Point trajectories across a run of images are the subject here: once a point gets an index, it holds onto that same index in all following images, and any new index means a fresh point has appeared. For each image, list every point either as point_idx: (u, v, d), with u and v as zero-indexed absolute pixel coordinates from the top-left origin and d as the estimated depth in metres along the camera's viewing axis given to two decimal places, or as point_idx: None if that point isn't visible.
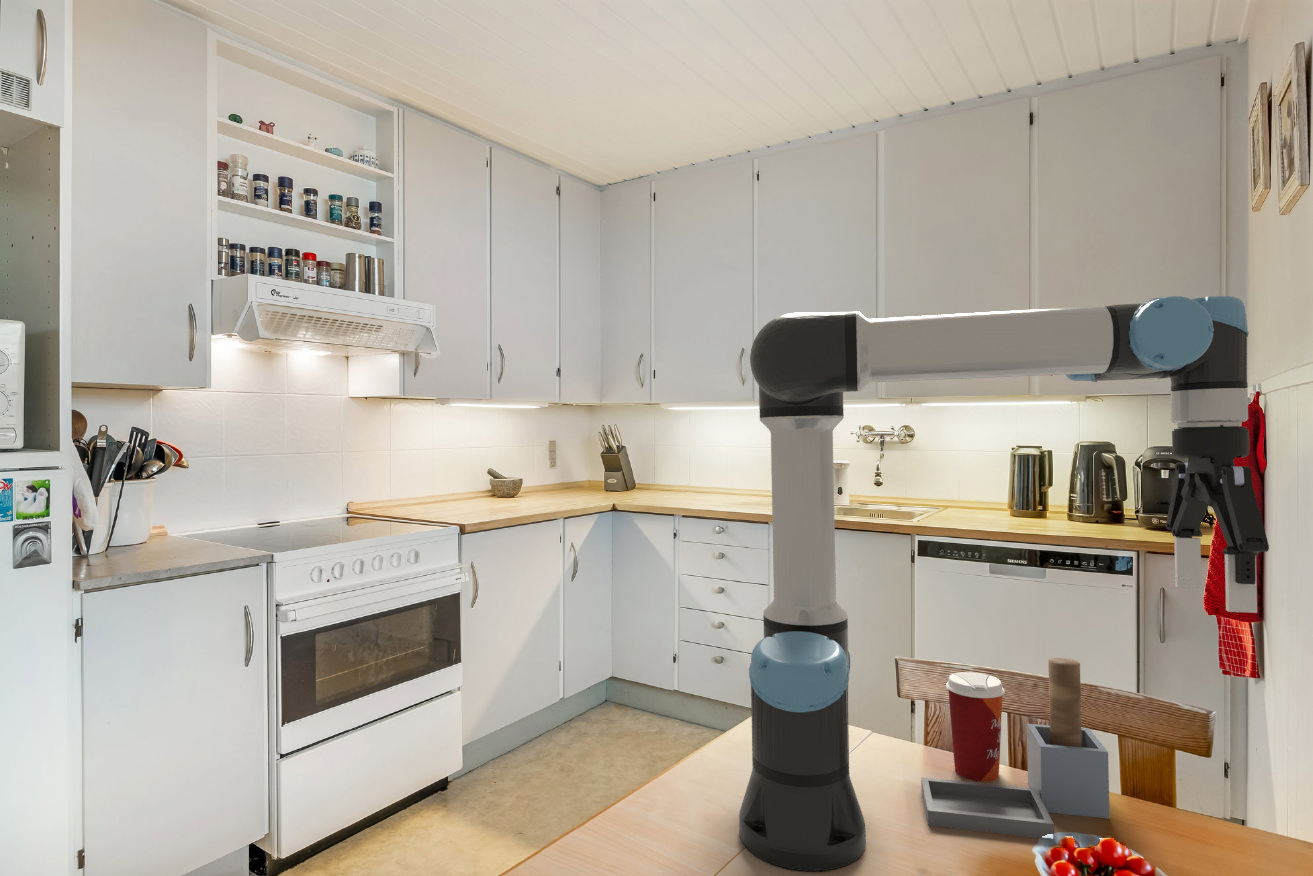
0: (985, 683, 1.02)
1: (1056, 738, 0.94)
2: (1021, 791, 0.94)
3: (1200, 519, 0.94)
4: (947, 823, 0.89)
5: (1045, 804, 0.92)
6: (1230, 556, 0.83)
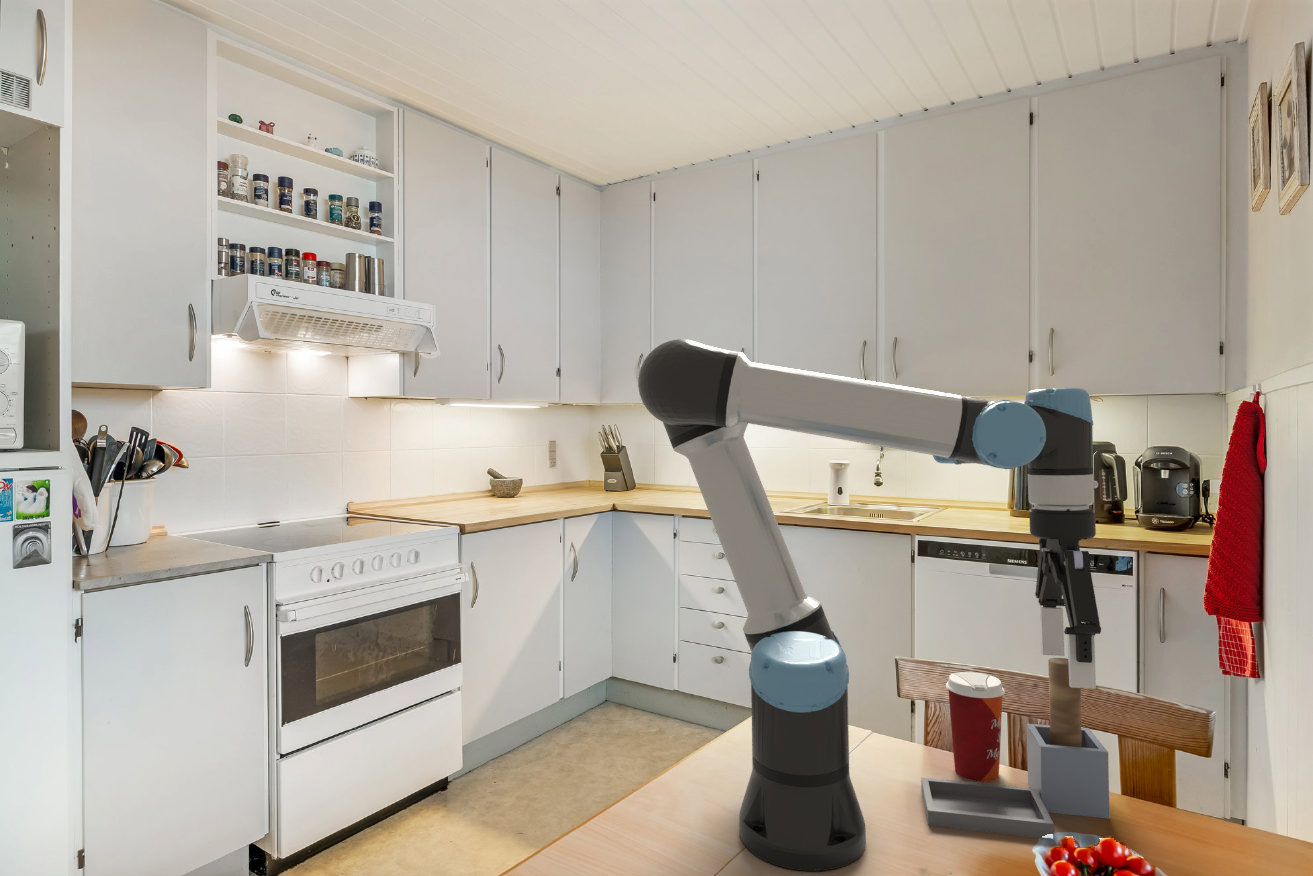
0: (985, 683, 1.02)
1: (1055, 737, 0.94)
2: (1021, 791, 0.94)
3: (1061, 591, 1.00)
4: (947, 823, 0.89)
5: (1045, 804, 0.92)
6: (1071, 635, 0.88)
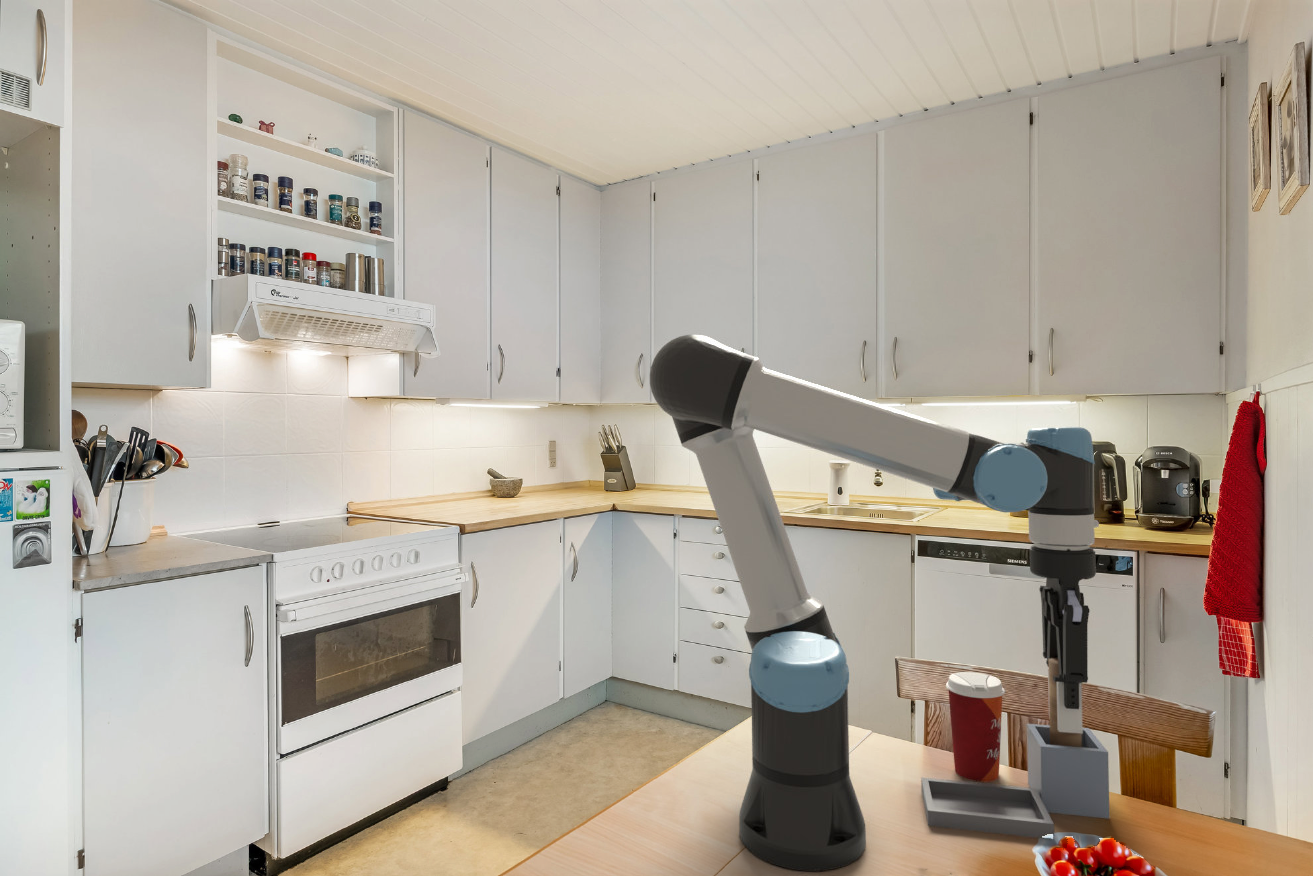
0: (985, 683, 1.02)
1: (1055, 737, 0.94)
2: (1021, 791, 0.94)
3: None
4: (947, 823, 0.89)
5: (1045, 804, 0.92)
6: (1060, 682, 0.93)
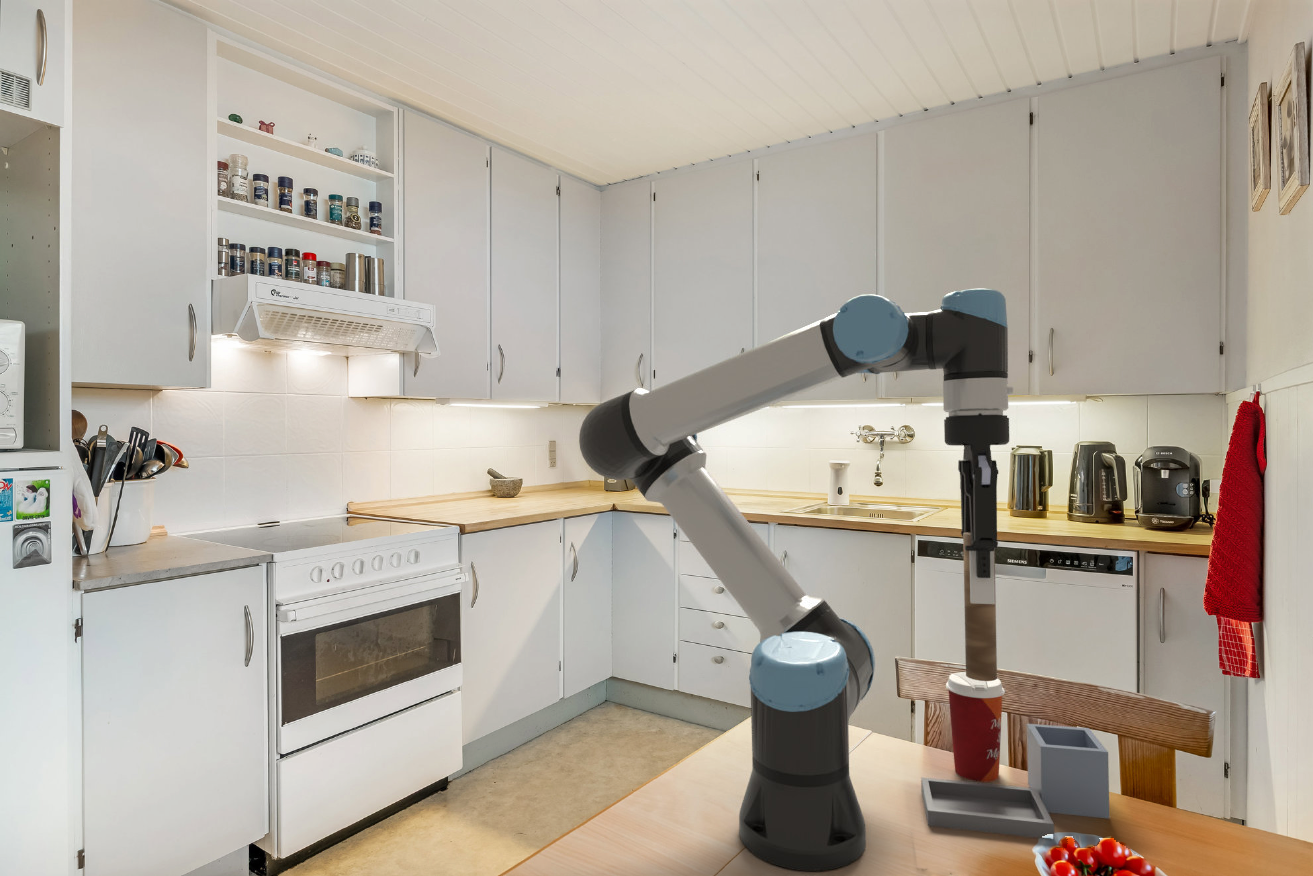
0: (985, 683, 1.02)
1: (969, 611, 0.91)
2: (1021, 791, 0.94)
3: None
4: (947, 823, 0.89)
5: (1045, 804, 0.92)
6: (972, 552, 0.90)
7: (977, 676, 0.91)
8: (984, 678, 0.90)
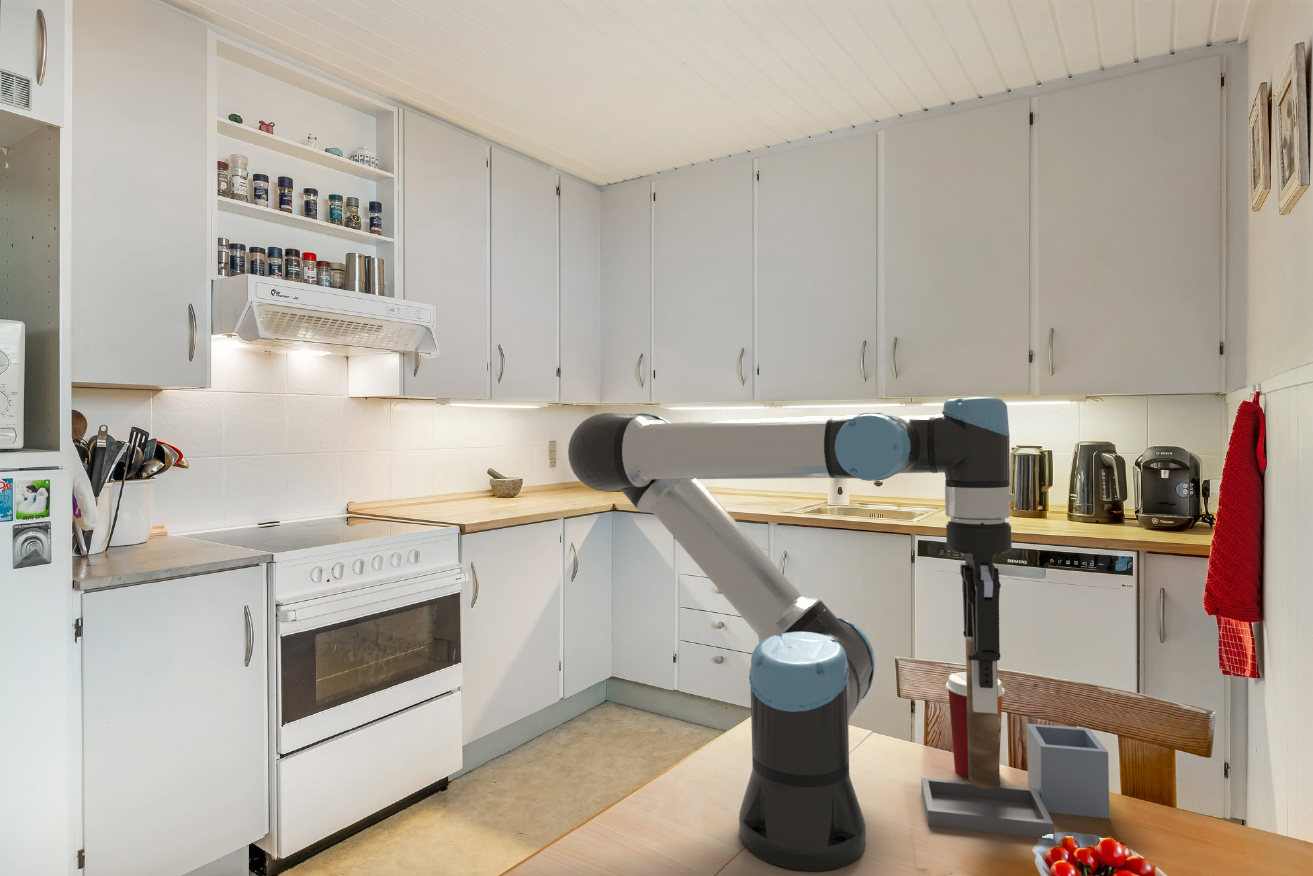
0: None
1: (972, 718, 0.91)
2: (1021, 791, 0.94)
3: None
4: (947, 823, 0.89)
5: (1045, 804, 0.92)
6: (974, 661, 0.90)
7: (980, 784, 0.91)
8: (987, 786, 0.90)
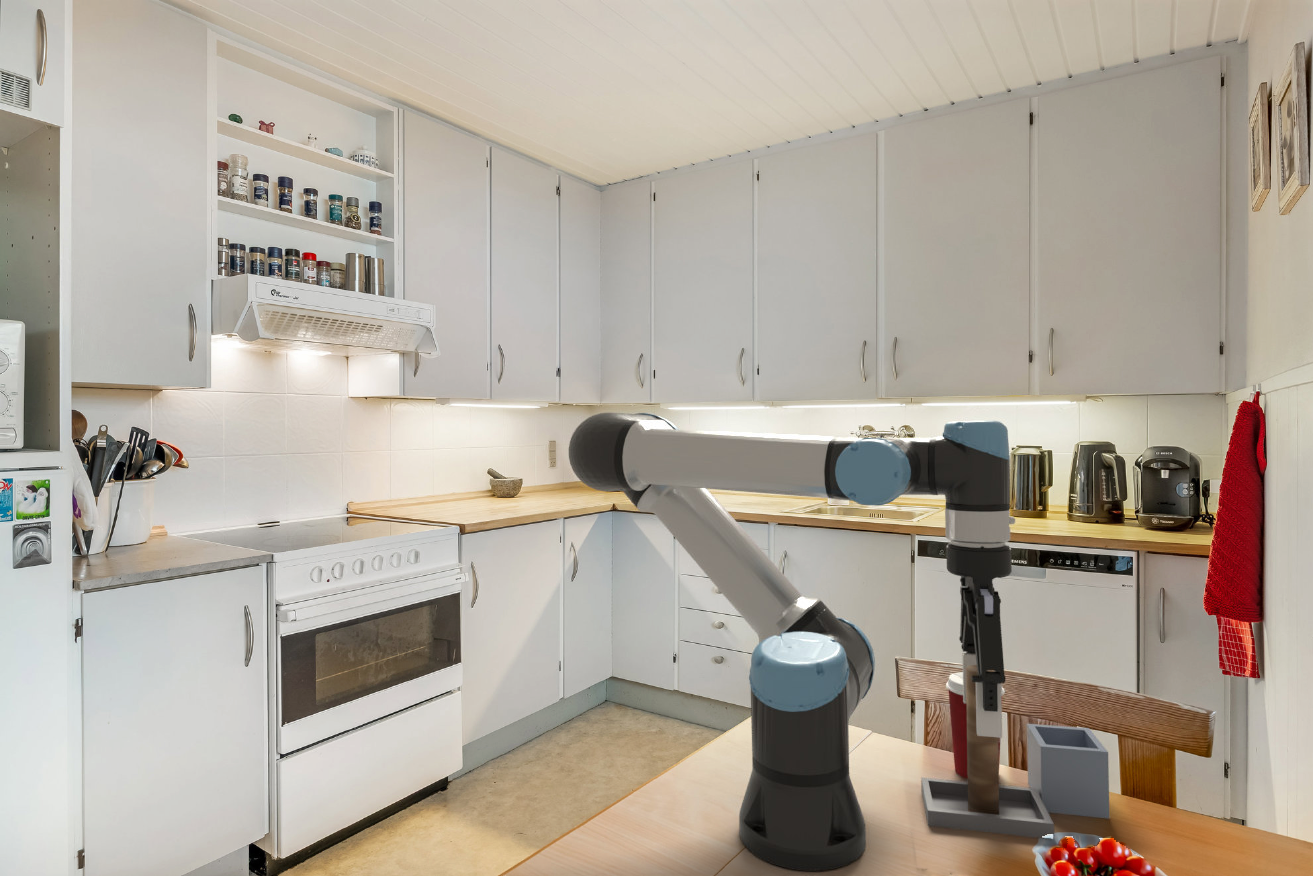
0: None
1: (972, 748, 0.91)
2: (1021, 791, 0.94)
3: None
4: (947, 823, 0.89)
5: (1045, 804, 0.92)
6: (978, 683, 0.87)
7: None
8: None
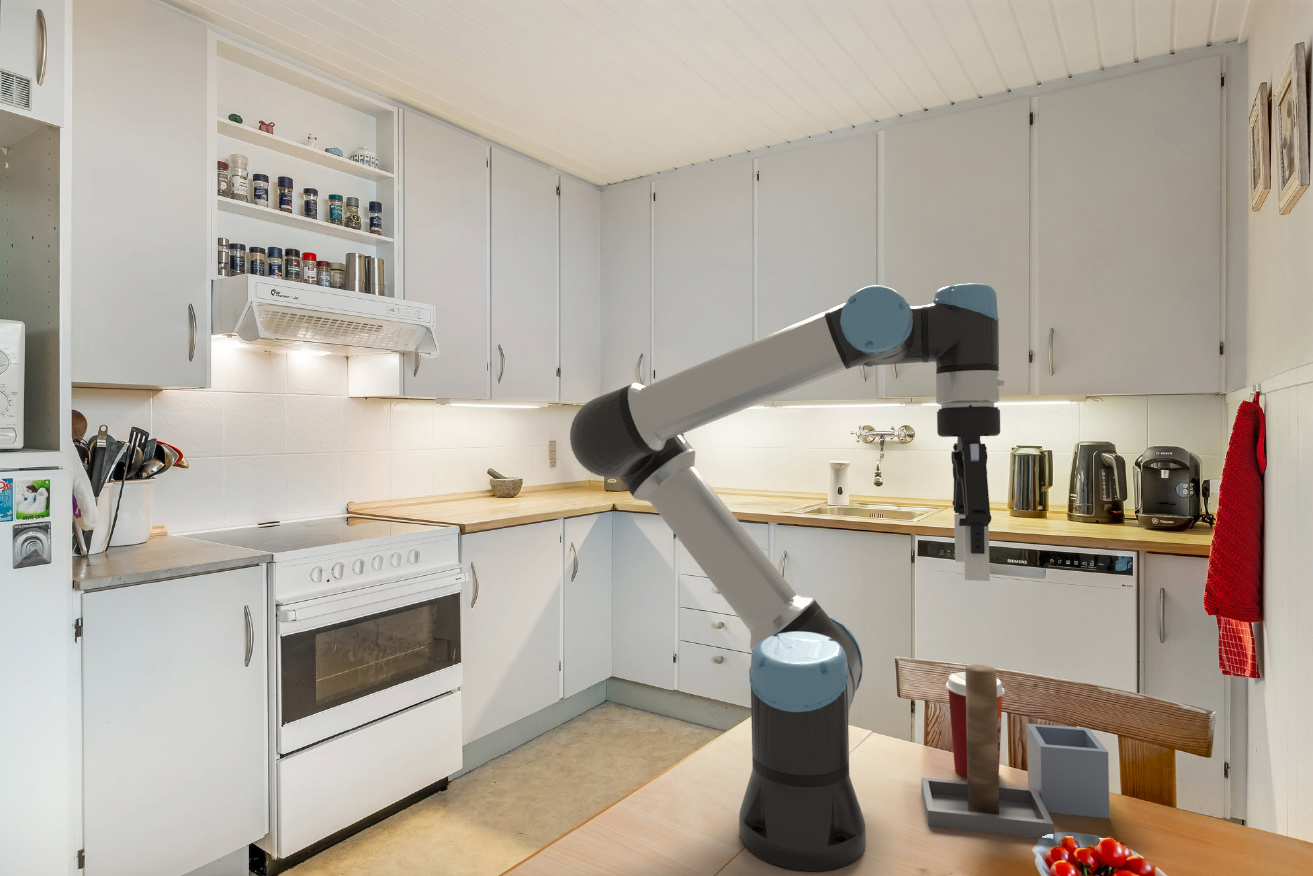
0: None
1: (971, 747, 0.91)
2: (1021, 791, 0.94)
3: None
4: (947, 823, 0.89)
5: (1045, 804, 0.92)
6: (966, 528, 0.88)
7: None
8: None
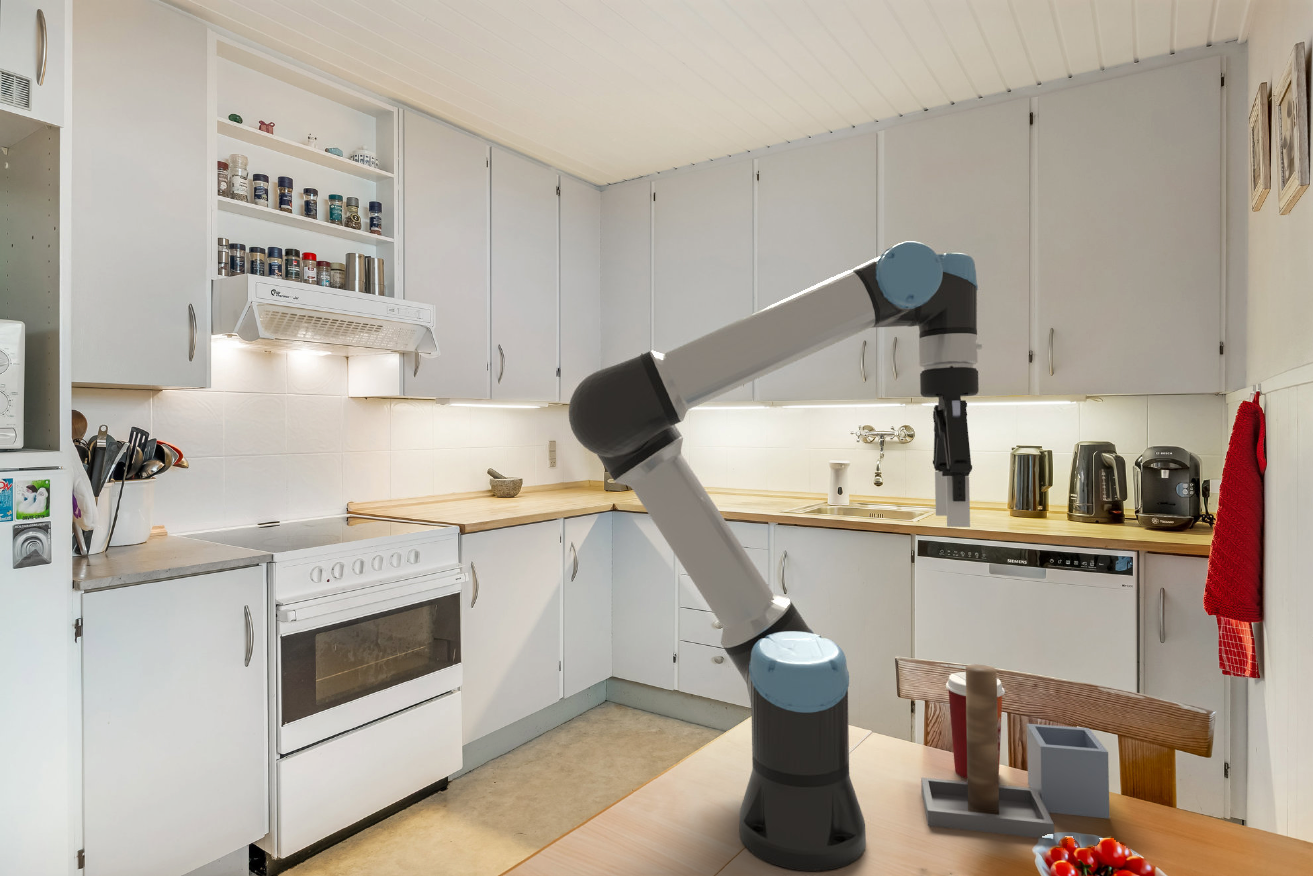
0: None
1: (971, 747, 0.91)
2: (1021, 791, 0.94)
3: None
4: (947, 823, 0.89)
5: (1045, 804, 0.92)
6: (948, 478, 0.95)
7: None
8: None
